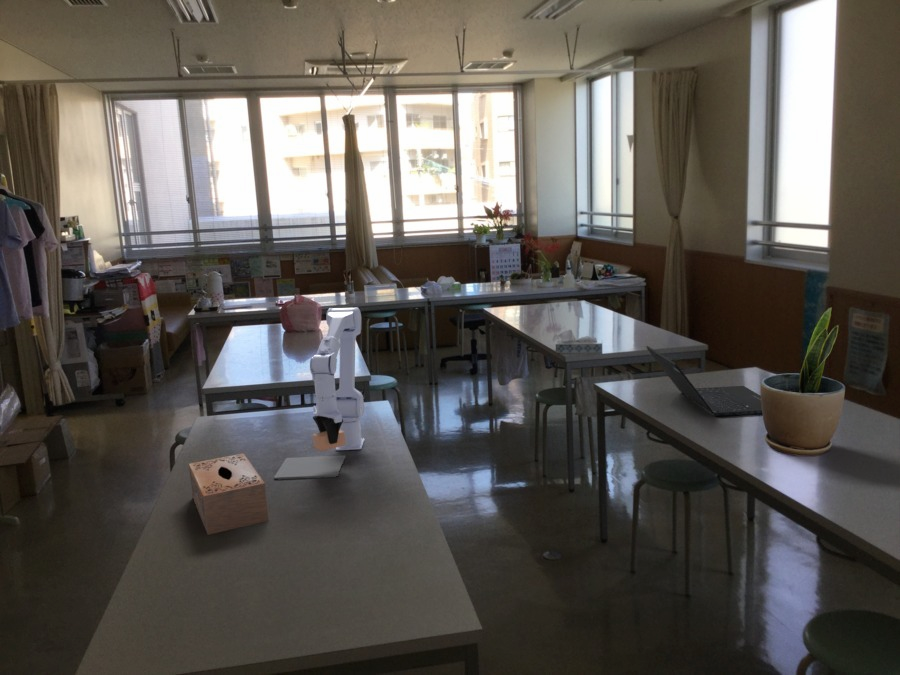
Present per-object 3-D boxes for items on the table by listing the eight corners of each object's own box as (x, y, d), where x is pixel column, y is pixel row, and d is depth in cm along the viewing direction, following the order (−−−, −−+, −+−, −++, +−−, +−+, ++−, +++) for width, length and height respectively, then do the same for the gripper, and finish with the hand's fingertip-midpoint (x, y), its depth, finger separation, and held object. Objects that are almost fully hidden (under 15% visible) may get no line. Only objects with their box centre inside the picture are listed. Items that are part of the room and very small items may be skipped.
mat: (286, 459, 222) (286, 457, 222) (345, 457, 222) (345, 455, 222) (273, 479, 207) (273, 477, 207) (337, 476, 206) (337, 474, 206)
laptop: (786, 414, 243) (788, 357, 240) (674, 421, 242) (674, 364, 239) (743, 389, 276) (745, 338, 272) (644, 394, 275) (644, 344, 271)
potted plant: (833, 465, 197) (841, 319, 189) (750, 452, 210) (754, 314, 202) (847, 443, 213) (855, 307, 206) (769, 431, 226) (773, 303, 219)
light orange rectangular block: (338, 441, 216) (337, 428, 215) (345, 445, 212) (344, 431, 211) (313, 447, 211) (312, 434, 211) (320, 451, 208) (319, 438, 207)
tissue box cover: (268, 521, 180) (264, 483, 178) (207, 535, 174) (203, 496, 172) (247, 487, 203) (243, 453, 201) (192, 499, 196) (188, 463, 195)
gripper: (302, 393, 213) (306, 438, 215) (324, 403, 201) (327, 450, 203) (324, 389, 217) (328, 432, 219) (347, 398, 205) (350, 444, 207)
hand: (329, 441), depth 212 cm, fingers closed on light orange rectangular block, 4 cm apart
